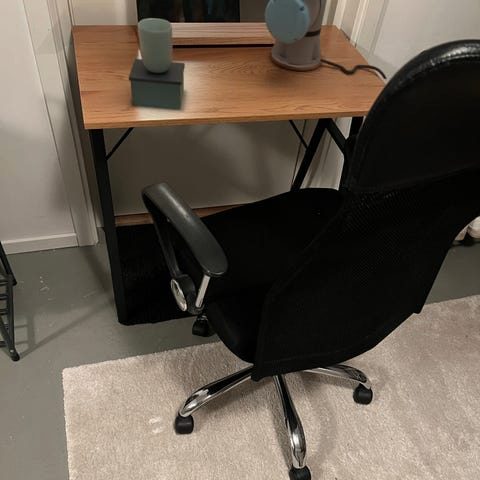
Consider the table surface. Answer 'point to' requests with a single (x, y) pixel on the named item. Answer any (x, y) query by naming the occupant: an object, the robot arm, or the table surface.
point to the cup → (155, 44)
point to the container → (157, 86)
